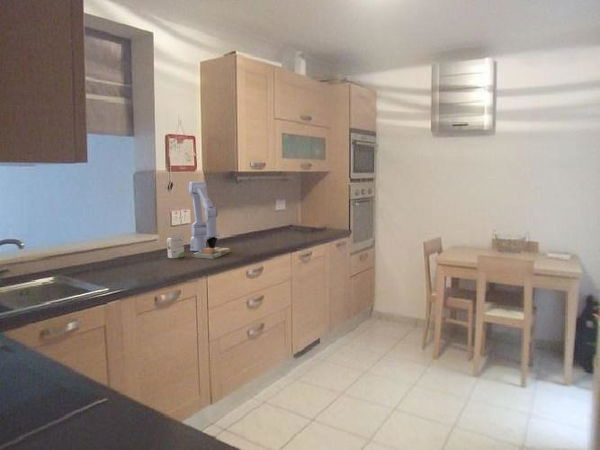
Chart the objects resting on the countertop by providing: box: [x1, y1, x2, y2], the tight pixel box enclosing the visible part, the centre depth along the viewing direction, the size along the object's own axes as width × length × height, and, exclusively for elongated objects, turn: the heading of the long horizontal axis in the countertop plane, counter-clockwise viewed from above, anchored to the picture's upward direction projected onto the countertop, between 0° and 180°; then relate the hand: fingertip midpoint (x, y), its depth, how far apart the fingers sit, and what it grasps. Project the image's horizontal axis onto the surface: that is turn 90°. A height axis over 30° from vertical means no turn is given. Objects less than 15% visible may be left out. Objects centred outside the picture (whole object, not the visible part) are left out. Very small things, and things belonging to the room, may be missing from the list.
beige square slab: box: [202, 246, 231, 257], centre depth 276 cm, size 13×12×2 cm
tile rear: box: [203, 247, 215, 253], centre depth 268 cm, size 5×5×2 cm
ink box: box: [166, 231, 185, 259], centre depth 264 cm, size 9×5×15 cm, turn 135°
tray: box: [192, 251, 221, 260], centre depth 266 cm, size 14×9×2 cm
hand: (212, 249), depth 271 cm, fingers closed
